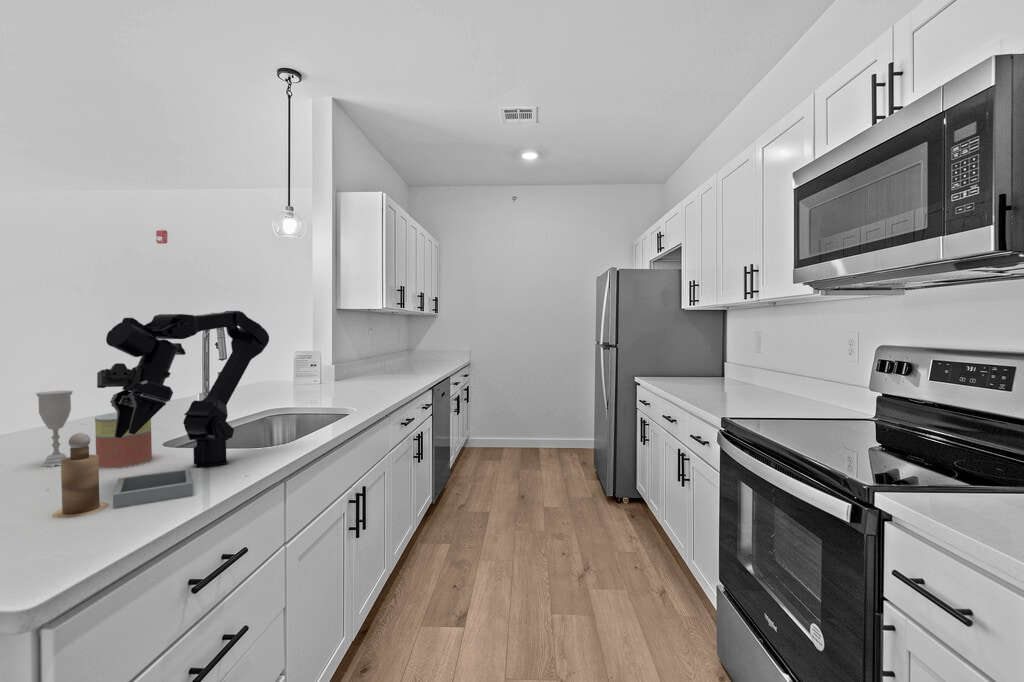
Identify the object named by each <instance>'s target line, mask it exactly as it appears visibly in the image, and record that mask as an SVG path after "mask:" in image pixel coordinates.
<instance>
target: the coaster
mask: <svg viewBox="0 0 1024 682" xmlns="http://www.w3.org/2000/svg"><path fill="white" fill-rule="evenodd" d="M108 507H110V503H108V502H106V501H100V507H99V508H97V509H95V510H93V511H89V512H86V513H81V514H74V515H65V514H62V508H60V509H58V510H55V511H54V512H53V513H52V514H51V517H52V518H57V519H69V518H77V517H82V516H83V517H84V516H87V515H92V514H95V513H98V512H102V511H103V510H106V509H107V508H108Z"/></svg>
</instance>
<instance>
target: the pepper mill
mask: <svg viewBox="0 0 1024 682" xmlns="http://www.w3.org/2000/svg"><path fill="white" fill-rule="evenodd" d="M90 443H91V438H90V436H89V435H88V434H87V433H84V432H77V433H74V434H73V435H71V436H70V437H69V438H68V445H69V447H70V449H69V450H70V451H69V453H70V454H69V455H70V456H69V457H67V458H65V459H62V460H61V465H60V474H61V475H60V479H61V482H60V483H61V509H62V514H65V515H74V514H81V513H86V512H89V511H93V510H95V509H97V508H99V507H100V502H101V501H100V475H99V474H100V472H99V471H100V470H99V469H100V468H99V461H98V455H96V454H90Z"/></svg>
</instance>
